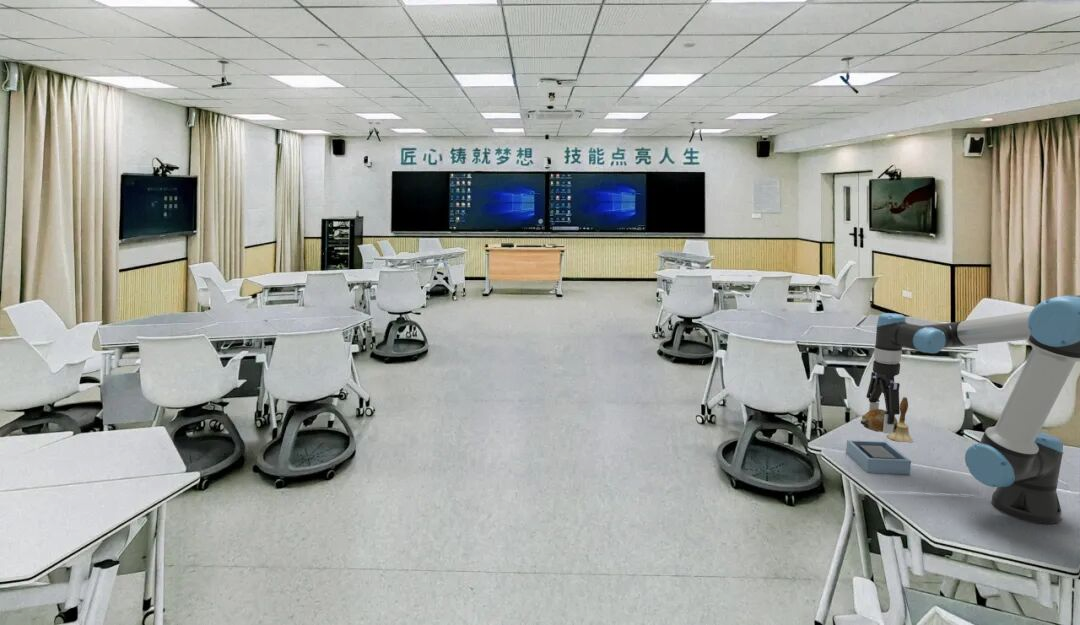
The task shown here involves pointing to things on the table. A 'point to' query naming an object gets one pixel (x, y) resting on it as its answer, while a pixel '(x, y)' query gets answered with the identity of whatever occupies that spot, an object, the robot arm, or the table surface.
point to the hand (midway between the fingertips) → (879, 426)
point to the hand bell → (901, 425)
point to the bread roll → (876, 420)
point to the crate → (877, 464)
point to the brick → (876, 452)
